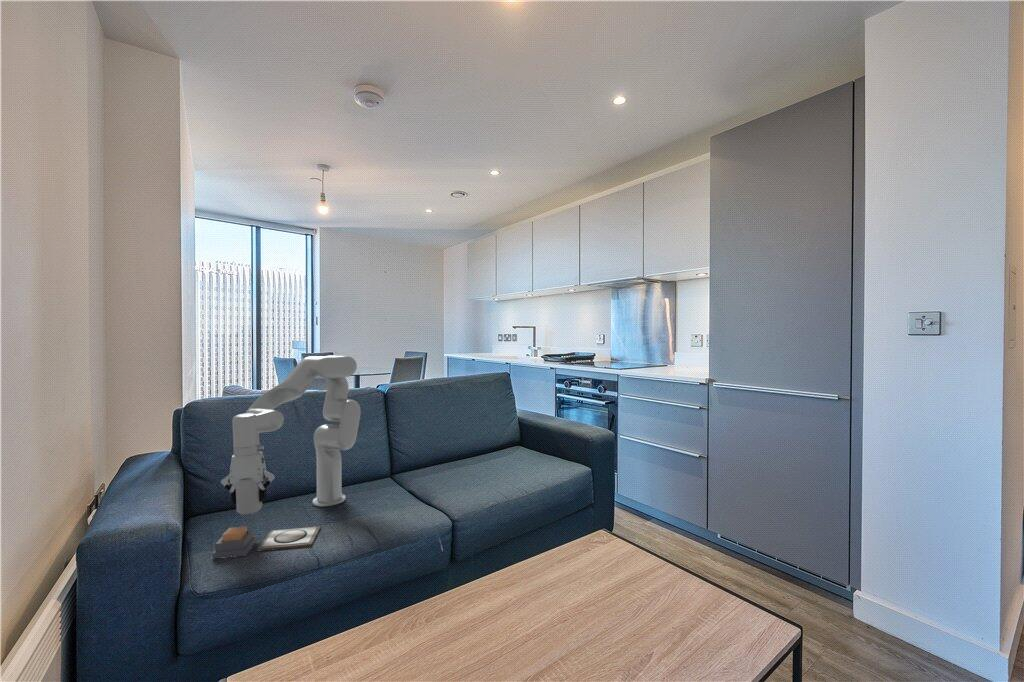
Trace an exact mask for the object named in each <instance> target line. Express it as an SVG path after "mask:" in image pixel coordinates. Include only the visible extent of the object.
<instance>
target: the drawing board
mask: <svg viewBox="0 0 1024 682" xmlns="http://www.w3.org/2000/svg"><path fill="white" fill-rule="evenodd" d="M320 528H322V527H321V525H318V526H317V525H316V526H306V527H296V528H295V527H294V528H282V529H272V530H270V531H269V532H268V534H267V535H266V537H265V538H264V539H263V541H262V542H261V543H260V544H259V546H258V547H257V548H256V551H258V550H269V551H273V550H272V549H280V550H288V549H287V548H290V549H299V548H300V549H301V548H309V547H311V548H312V546H313V544H314V542H315V541H316V539H315V538H317V537H316V536H318V535H317V534H319V533H318V532H320V531H319V530H321V529H320Z"/></svg>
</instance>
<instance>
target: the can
mask: <svg viewBox="0 0 1024 682" xmlns="http://www.w3.org/2000/svg"><path fill="white" fill-rule="evenodd" d="M235 486H236V504H235V505H236V513H238V514H240V515H243V516H245V515H246V516H247V515H252V514H255V513H257V512H259V511H260V509H262V507H263V501H262V502H260V499H259V491H260V487H259V486H258V483H256V482H254V481H252V479H247V480H239V482H238V483H237V484H236V485H235Z"/></svg>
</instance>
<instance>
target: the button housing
mask: <svg viewBox="0 0 1024 682" xmlns="http://www.w3.org/2000/svg"><path fill="white" fill-rule="evenodd" d="M256 540H257V538H256V536H254V530H253V529H252V530H247V535H246V536H245V537H244V538H243V539H242V540H238V541H226V542H222V536H221V537H220V539H218V540H217V542H215V544H214V545H215V547H214V551H213V552H212V560H215V559H214V558H221V557H231V556H232V557H233V558H235V557H234V556H243V557H246V556H247V555H248V554H249V552H250V551H251V550H250V548H251V547H252V546H253V545H254V543H255V542H257V541H256ZM255 544H256V543H255ZM254 546H255V545H254ZM254 546H253V547H254ZM253 547H252V548H253ZM249 550H250V551H249ZM248 551H249V552H248ZM247 553H248V554H247ZM246 554H247V555H246Z"/></svg>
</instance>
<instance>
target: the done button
mask: <svg viewBox="0 0 1024 682" xmlns="http://www.w3.org/2000/svg"><path fill="white" fill-rule="evenodd" d="M247 531H248V526H238V527H237V526H236V527H235V526H234V527H228V529H226V531H224V532H223V533H222V535H221V537H222V542H226V541H238V540H242V539H243V538H244V537H245V536H246V535H247Z"/></svg>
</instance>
